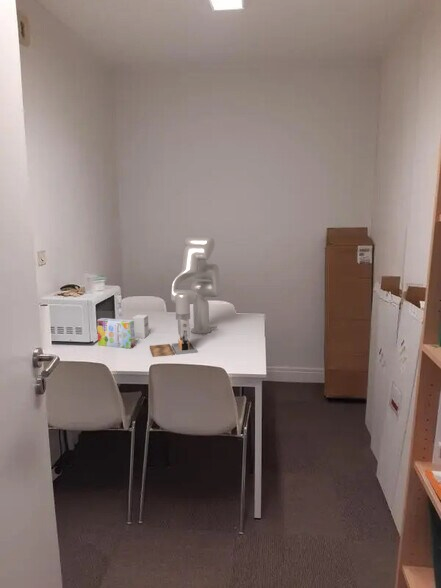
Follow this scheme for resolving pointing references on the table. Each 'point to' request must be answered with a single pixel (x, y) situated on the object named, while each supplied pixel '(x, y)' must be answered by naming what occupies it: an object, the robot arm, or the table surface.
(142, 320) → the supplement box
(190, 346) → the grey tray
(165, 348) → the wooden tray
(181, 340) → the letter cube
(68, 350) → the table surface
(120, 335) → the snack box
